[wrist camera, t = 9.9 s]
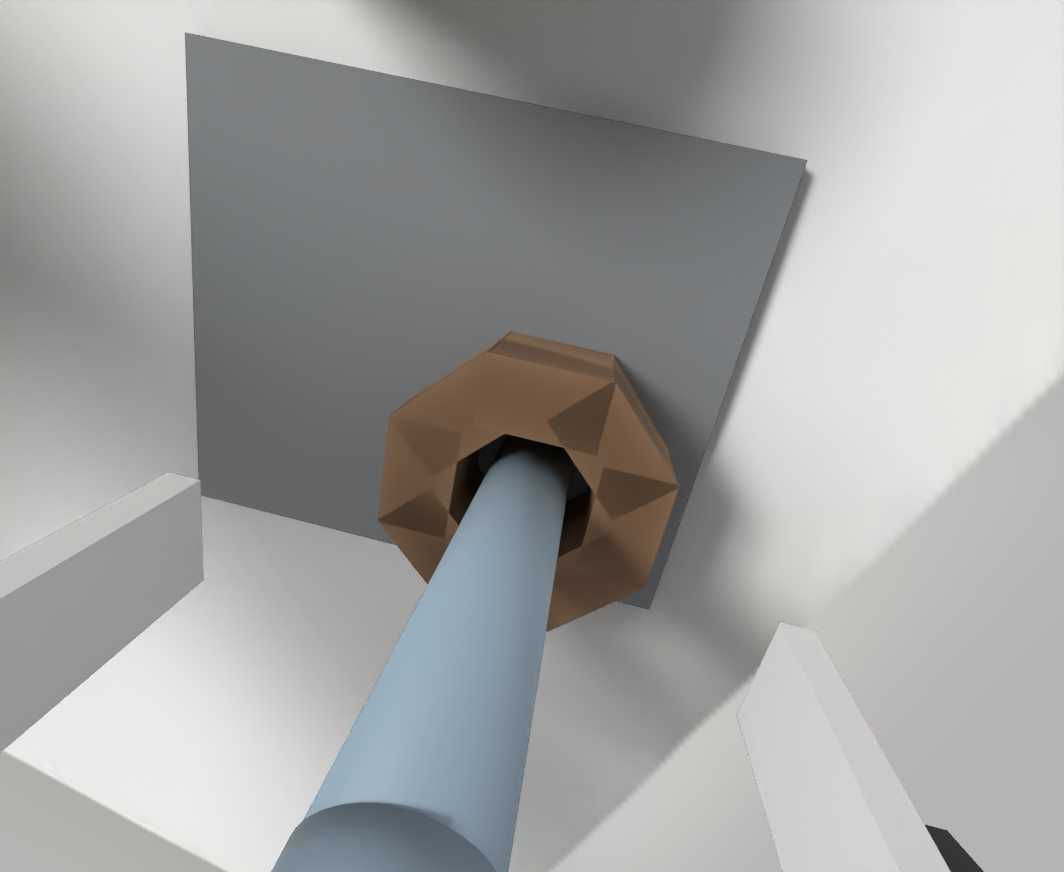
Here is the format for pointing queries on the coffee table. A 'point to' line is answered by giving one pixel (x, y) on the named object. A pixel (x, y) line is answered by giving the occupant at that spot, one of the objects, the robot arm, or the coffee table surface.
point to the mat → (444, 266)
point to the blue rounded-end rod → (452, 695)
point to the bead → (549, 417)
